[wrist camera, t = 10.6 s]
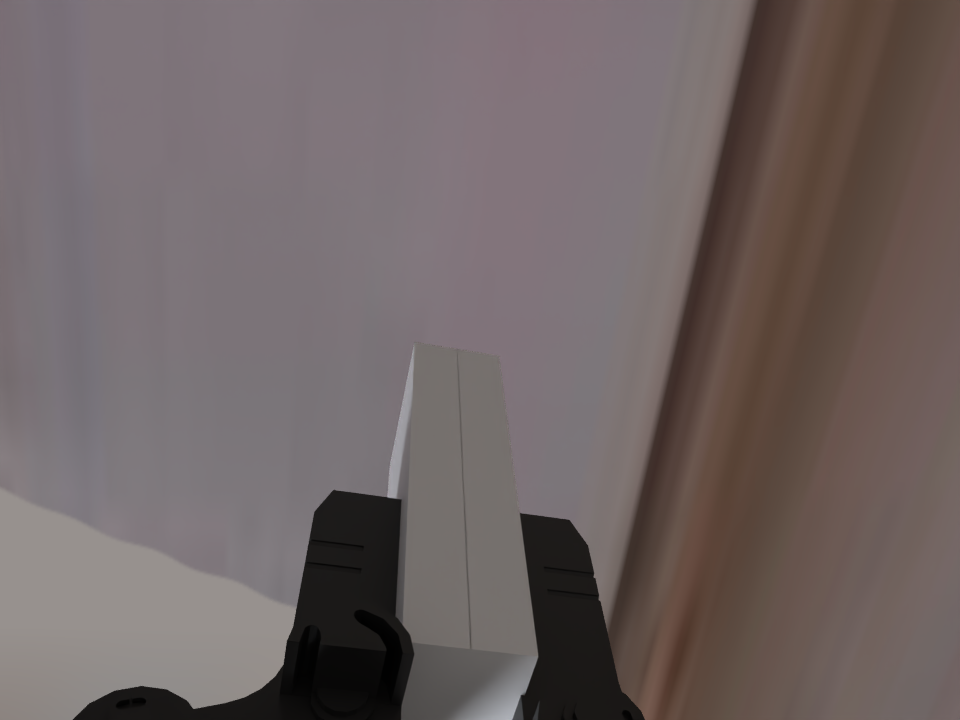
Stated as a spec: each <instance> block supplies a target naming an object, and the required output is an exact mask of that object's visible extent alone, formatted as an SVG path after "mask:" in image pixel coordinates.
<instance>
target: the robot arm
mask: <svg viewBox="0 0 960 720" xmlns="http://www.w3.org/2000/svg"><path fill="white" fill-rule="evenodd" d="M593 576H594V571H593V566H592V562H591V557H590V553H589V548H588V545H587V544H586V542H585V541H584V540H583V538H582V537H581V535H580V534H579V533H578V531H577V530H576V529H575V527H574V526H573V524H572V523H571V522H570V520H566V519H559V518H551V517H544V516H537V515H529V514H522V513H520V512H519V504H518V497H517V489H516V481H515V474H514V466H513V458H512V451H511V443H510V435H509V427H508V420H507V412H506V404H505V397H504V389H503V381H502V374H501V366H500V358H499V356H497V355H491V354H485V353H479V352H473V351H467V350H460V349H454V348H448V347H442V346H436V345H430V344H424V343H417V342H415V343H414V348H413V353H412V358H411V363H410V368H409V373H408V378H407V383H406V388H405V393H404V398H403V403H402V408H401V413H400V418H399V423H398V428H397V433H396V438H395V443H394V448H393V453H392V458H391V463H390V470H389V484H388V497H381V496H373V495H366V494H359V493H351V492H344V491H336V490H333V491H332V492H331V493H330V495H329V496H328V497H327V498H326V499H325V500H324V501H323V503H322V504H321V505H320V506H319V507H318V508H317V510H316V511H315V512H314V518H313V523H312V528H311V534H310V539H309V545H308V550H307V555H306V561H305V567H304V572H303V577H302V582H301V588H300V593H299V599H298V604H297V609H296V615H295V620H294V626H293V629H292V631H291V633H290V635H289V638H288V640H287V645H286V652H285V659H284V665H283V666H282V668H281V669H280V671H279V672H278V673H277V675H276V676H275V677H274V678H273V679H272V680H271V681H270V682H269V683H267V684H266V685H265V686H264V687H263V688H262V689H260V690H258V691H256V692H254V693H252V694H250V695H249V696H247V697H245V698H241V699H238V700H235V701H231V702H228V703H224V704H218V705H213V706H208V707H203V708H198V709H193V708H192V707H191V706H190V704H189V703H188V702H187V700H185V699H183V698H181V697H179V696H178V695H176V694H174V693H172V692H170V691H168V690H166V689H159V688H151V687H144V686H139V687H134V688H128V689H122V690H117V691H113V692H111V693H109V694H107V695H105V696H103V697H101V698H100V699H98V700H96V701H93V702H91V703H89V704H88V705H87V706H86V707H85V708H84V709H83V710H82V711H81V712H80V713H79V714H78V715H77V716H76V717H75V718H74V719H73V720H645V719H644V717H643V714H642V712H641V711H640V709H639V708H638V707H637V706H636V705H635V704H634V703H633V702H632V701H631V700H630V698H629V697H628V696H627V695H626V694H624V693H623V692H622V691H621V688H620V685H619V682H618V678H617V673H616V669H615V664H614V660H613V655H612V651H611V647H610V642H609V638H608V633H607V629H606V624H605V620H604V615H603V611H602V606H601V602H600V601H599V600H598V598H599V593H598V588H597V584H596V580H595V578H594V577H593Z"/></svg>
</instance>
